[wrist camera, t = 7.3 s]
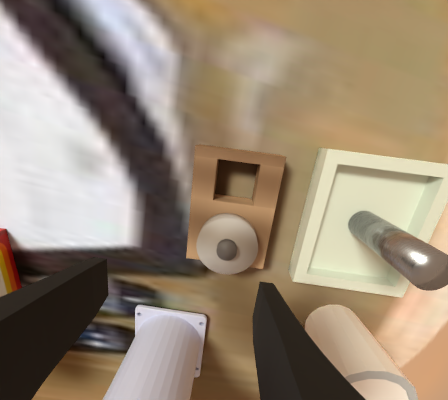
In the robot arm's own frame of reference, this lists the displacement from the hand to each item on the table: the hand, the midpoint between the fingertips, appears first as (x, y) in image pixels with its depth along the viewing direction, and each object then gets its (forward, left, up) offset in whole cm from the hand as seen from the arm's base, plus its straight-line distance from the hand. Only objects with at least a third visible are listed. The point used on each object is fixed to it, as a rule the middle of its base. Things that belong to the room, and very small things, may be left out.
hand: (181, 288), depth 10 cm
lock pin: (+1, -14, -10) cm, 17 cm away
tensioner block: (+1, -2, -10) cm, 11 cm away
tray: (+1, -14, -10) cm, 17 cm away
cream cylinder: (-11, -15, -11) cm, 21 cm away
